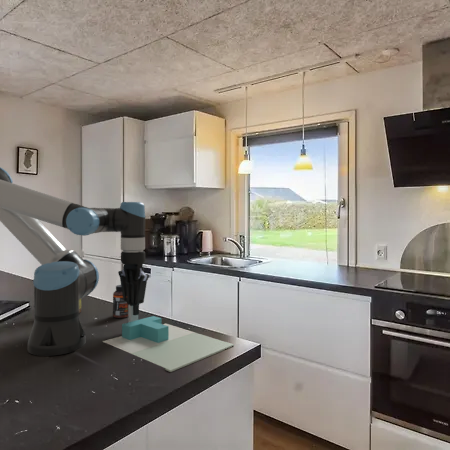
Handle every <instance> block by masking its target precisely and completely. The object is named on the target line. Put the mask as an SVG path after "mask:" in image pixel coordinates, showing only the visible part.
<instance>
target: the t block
mask: <svg viewBox="0 0 450 450" xmlns="http://www.w3.org/2000/svg"><path fill="white" fill-rule="evenodd" d="M121 336H122V337H123V338H125V339H128V340H132V339H136V338H139V337H143V338H145V339H148V340H151V341H154V342H156V343H160V342H163V341H166V340H169V326H166V325H163V323H162V317H158V316H156V315H153V316H148V317H143V318H140V319H138V320H136V321H132V322H129V321H128V322H125V323H122V324H121Z"/></svg>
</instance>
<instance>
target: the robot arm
mask: <svg viewBox="0 0 450 450" xmlns="http://www.w3.org/2000/svg"><path fill="white" fill-rule="evenodd" d="M145 207H146V206H145V204H144V203H143V202H140V201H121V203H120V207H117V208H110V207H103V208H102V207H87V206H84V205H80V204H78V203H74V202H71V201H69V200H65V199H62V198H59V197H56V196H52V195H49V194H46V193H43V192H41V191H38V190H34V189H31V188H29V187H25V186H23V185H18V184H15V183H13V178H12V176H11V175H10V173H9V172H8V171H6V169H4V168H3V167H0V223H1V224H2V225H3V226H4V227H6V229H7V230H8V231H9V232H10V233H11V234H12V235H13V236H14V237H15V239H17V240H18V242H19V243H21V244H22V246H23V247H24V248H25V249H26V250H27V251H28V252H29V253H30V254H31V255H32V256H33V257H34V258H35V259H36V260H37V261H38V262H39V263H40V265H39V266H38V267H37V268H36V269H35V270H34V272H33V274H34V275H33V279H32V283H33V284H32V285H33V309H34V310H33V312H34V313H33V314H34V315H33V316H34V318H33V320H34V322H33V325H32V328H31V331H30V333H29V336H28V340H27V353H29V354H31V355H34V356H40V357H48V356H49V357H52V356H59V355H65V354H70V353H72V352H75V351H76V350H79V349H81V348H82V347H84V346H85V345H86V342H87V339H86V337H87V336H86V333H85V330H84V328H83V325H82V322H81V319H80V313H79V300H80V299H81V300H82V299H83V298H85V297H87V296H89V295H90V294H91V293H92V292H93V291H94V290H95V289H96V287H97V286H98V284H99V279H100V273H99V270H98V268H97V266H96V265H95V263H93V262H92V261H90V260H87V259H83V258H82V256H80V255H79V253H78V252H77V251H75V250H74V249H67V248H66V247H65V246H64V245H63V244H62V242H61V241H59V240H58V238H57V237H55V235H53V233H52V232H51V231H50V230H49V229H48V228H47V227H46V226H45V225H44V224H43V222H45V223H48V224H51V225H54V226H56V227H57V226H58V227H59V228H60V227H61V228H63V229H66V230H69V231H70V232H71V233H72V234H74V235H76V236H89V235H93V234H99V233H120V250H121V252H120V263H121V264H122V265H123V266H122V268H123V269H121V270H118V272H117V274H118V276H119V280H120V285H121V287H122V294H123V300H124V301H126V302H127V304H128V315H129V316H128V322H132V321H136V320H139V315H140V305H141V304H143V303H144V301H145V297H146V290H147V289H146V288H147V283H148V280H149V277H150V275H149V273H146V274H145V272H144V266H143V264H145V262H146V252H145V251H144V250H145V249H146V219H147V218H146V211H145V209H146V208H145ZM41 221H42V222H41Z"/></svg>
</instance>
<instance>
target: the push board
mask: <svg viewBox="0 0 450 450" xmlns="http://www.w3.org/2000/svg"><path fill="white" fill-rule="evenodd" d="M162 324H163V323H162ZM163 325H166V326H169V340H166V341H163V342H160V343H156V342H154V341H151V340H148V339H145V338H143V337H139V338H136V339H132V340H128V339H125V338H123V337H122V335H120V336H116V337H114V338H110V339H107V340H102V342H103V343H105V344H107V345H110V346H113V347H114V348H117V349H120V350H121V351H124V352H126V353H128V354H130V355H134V356H135V357H138V358H141V359H143V360H145V361H147V362H150V363H153V364H154V365H157V366H159V367H162V368H163V370H165V371H167V372H170V373H172V372H175V371H177V370H179V369H181V368H184V367H186V366H189V365H191V364H194V363H196V362H199V361H201V360H203V359H206V358H208V357H211V356H213V355H215V354H218V353H221V352H223V351H225V349H226V350H227V348H228V349H231V348H233V347H234V346H235V344H233V343H230V342H227V341H223V340H220V339H217V338H213V337H211V336H208V335H204V334H202V333H198V332H194V331H192V330H187V329H184V328H181V327H179V326H175V325H172V324H169V323H164V324H163ZM232 346H233V347H232Z"/></svg>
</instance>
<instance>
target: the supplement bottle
mask: <svg viewBox="0 0 450 450" xmlns="http://www.w3.org/2000/svg"><path fill="white" fill-rule="evenodd" d="M112 316H113V318H116V319H124V318H129V315H128V304H127V302H126V301H124V300H123V294H122V287H121V284H118V285H115V291H113V293H112Z"/></svg>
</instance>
